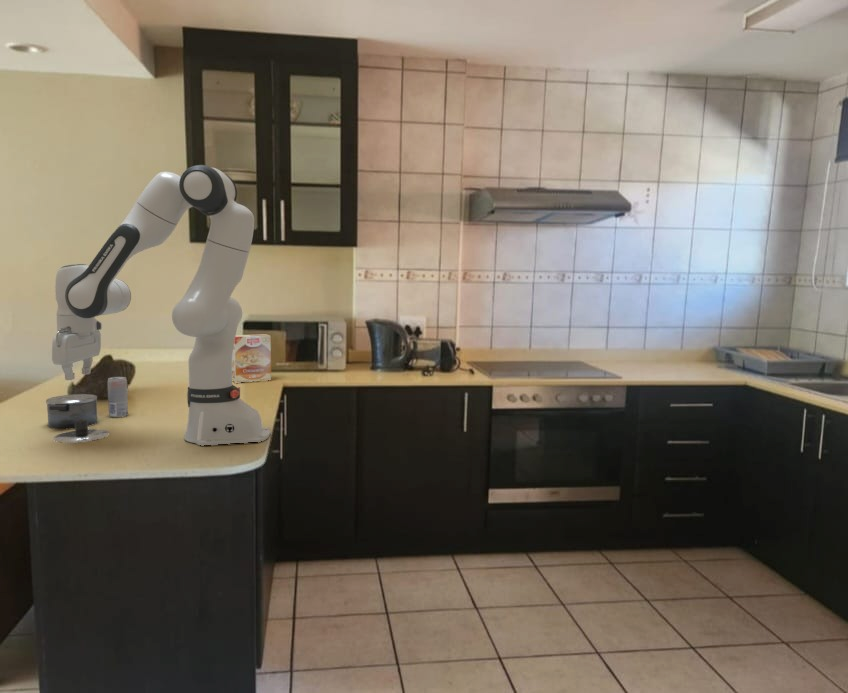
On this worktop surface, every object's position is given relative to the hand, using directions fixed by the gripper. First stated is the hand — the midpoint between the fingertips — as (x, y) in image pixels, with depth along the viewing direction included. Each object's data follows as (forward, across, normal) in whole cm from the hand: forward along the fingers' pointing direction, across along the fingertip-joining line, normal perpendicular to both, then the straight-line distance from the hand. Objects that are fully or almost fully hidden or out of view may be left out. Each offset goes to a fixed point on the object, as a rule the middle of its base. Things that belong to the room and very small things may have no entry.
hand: (78, 376), depth 165 cm
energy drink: (+17, +25, 0) cm, 30 cm away
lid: (+17, 0, 0) cm, 17 cm away
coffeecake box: (+17, +89, -29) cm, 95 cm away
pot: (+16, +15, +9) cm, 24 cm away
